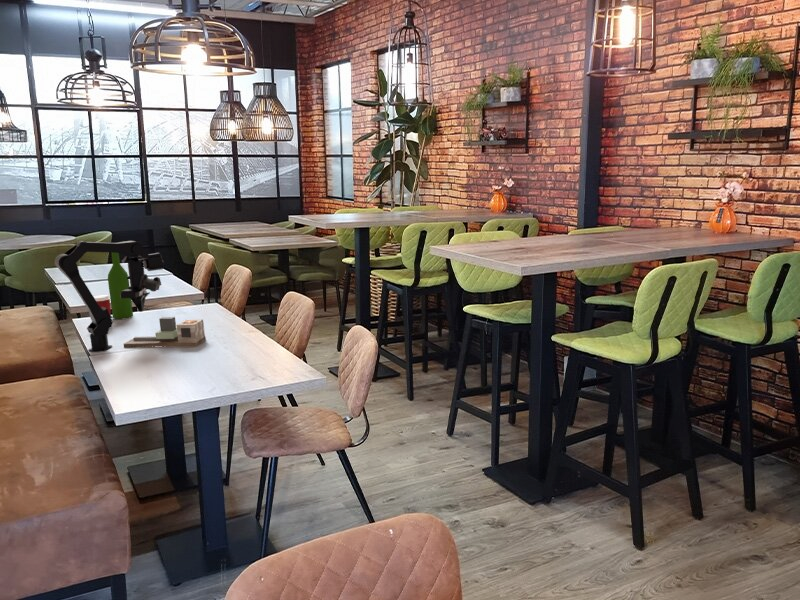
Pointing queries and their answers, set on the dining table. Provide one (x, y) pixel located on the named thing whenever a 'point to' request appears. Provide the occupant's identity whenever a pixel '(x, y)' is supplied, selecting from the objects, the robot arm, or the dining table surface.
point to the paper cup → (103, 301)
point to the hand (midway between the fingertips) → (141, 311)
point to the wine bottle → (119, 290)
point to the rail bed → (186, 337)
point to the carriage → (167, 328)
